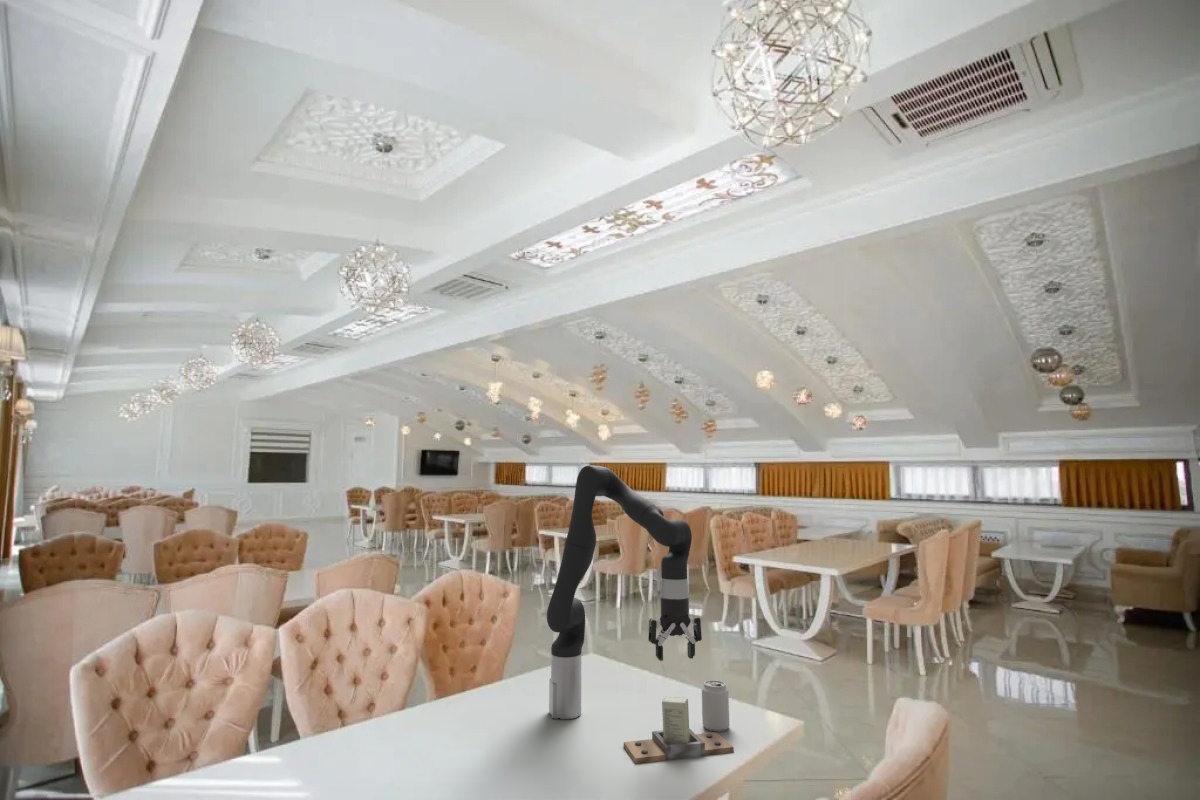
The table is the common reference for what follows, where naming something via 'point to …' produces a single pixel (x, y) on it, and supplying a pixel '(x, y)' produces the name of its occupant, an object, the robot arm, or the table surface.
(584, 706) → the table surface
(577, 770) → the table surface
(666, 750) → the mounting bracket
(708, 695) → the can
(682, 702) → the skincare box
